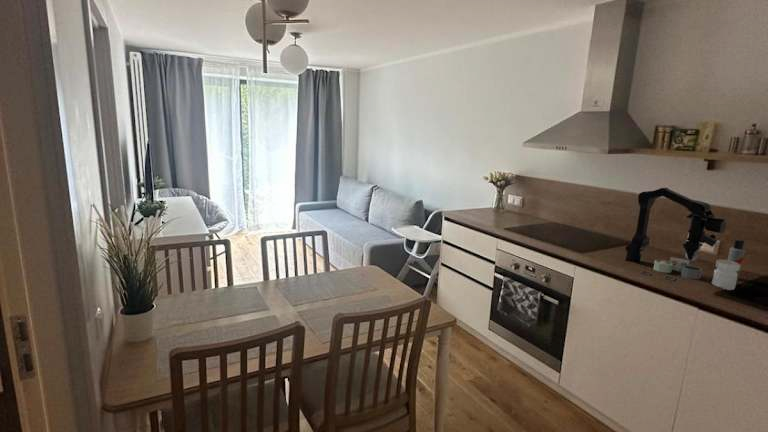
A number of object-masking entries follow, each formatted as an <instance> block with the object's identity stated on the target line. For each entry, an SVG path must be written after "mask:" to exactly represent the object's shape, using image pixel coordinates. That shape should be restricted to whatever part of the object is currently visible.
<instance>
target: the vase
mask: <svg viewBox="0 0 768 432" xmlns="http://www.w3.org/2000/svg"><path fill="white" fill-rule="evenodd" d="M715 267H716V269H714V270H713V275H712V276H713V277H712V280H711V284H712V285H713V286H716V287H717V288H721V289H722V290H725V289H726V290H727V291H732V290H735V288H736V286H737V280H738V279H737V276H738V274H737V273H736V271H738V270H739V268H740V264H739V263H737V262H733V261H729V260H728V259H716V261H715Z"/></svg>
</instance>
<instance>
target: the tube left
mask: <svg viewBox="0 0 768 432" xmlns="http://www.w3.org/2000/svg"><path fill="white" fill-rule="evenodd" d="M661 261H665V262H667V263H668V264H662V263H659V262H661ZM653 264H654V265H653V270H654V271H657V272H659V273H666V274H671V273H672V272H673V270H672V266H673V263H672V262H670V260H665V259H655V260H654V262H653Z"/></svg>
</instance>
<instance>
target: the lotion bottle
mask: <svg viewBox="0 0 768 432" xmlns="http://www.w3.org/2000/svg"><path fill="white" fill-rule="evenodd" d="M733 240H734V241H733V246H732V247H730V248H729V253H728V256H727V260H729V261H733V262H737V263H739V264H740V268H739V270H738V271H736V273H737V274H738V276H737V280H739V279H740V274H741V270H742V267H743V261H744V257H745V254H746V253H745V252H746V250H745V249H744V247H745V240H744V239H739V238H738V239H733Z"/></svg>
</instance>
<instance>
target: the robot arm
mask: <svg viewBox="0 0 768 432" xmlns="http://www.w3.org/2000/svg"><path fill="white" fill-rule="evenodd" d="M662 197H663V198H666V199H668V200H670V201H672V202H674V203H677V204H678V205H681V206H683V207H684V208H686V209H687V210H688V211H689V212H690V214H689V215H686V218H688V219H690V225H689V229H688V231H687V232H688V234H687V237H686V241H684V242H683V244H682V247H683V248H684V250H685V254H686V253H687V256H688V259H689V260H688V259H687V260H688V261H690V260H692V258H693V256H694V253H695V252H696V253H697V251H699V250H700V249H701V247H702V246H703V245H704V244H706V245H708V246H709V247H711V248H712V247H713V248H714V246H715V245H716V243H717V242H718V238H717V237H716V234H714V233H719V234H723V233H724V232H725V231H726V228H727V222H726V218H722V217H721V218H720V217H716V216H715V215H714V213H713V212H712V210H711V205H710V204H709V203H708V202H704V201H701V200H696V199H692V198H690V197H687V196H685V195H683V194H680V193H678V192H676V191H674V190H671V189H670V188H668V187H660V188H658V189H655V190H647V191H642V192H639V194H638V196H637V200H638V201H637V203H638V206H639V212H638V218H637V225H636V231H635V233H634V235H633V237H632V238H631V241H630V244H627V245H626V246H625V247H624V248H625V252H626V257H625V259H624V261H626V262H630V263H634V264H635V263H636V264H639V263H641V262H642V259H643V258H642V256H643V253H642V252H643V251H644V250H645V249H647V248H648V246H650V240H651V238H650V237H648V235H647V231H648V225H649V220H650V214H651V208H652V207H653V205H654V204H655V202H656V199H658V198H662ZM705 230H706V231H707V232H713V233H712V234H707V233H706V231H705Z"/></svg>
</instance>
